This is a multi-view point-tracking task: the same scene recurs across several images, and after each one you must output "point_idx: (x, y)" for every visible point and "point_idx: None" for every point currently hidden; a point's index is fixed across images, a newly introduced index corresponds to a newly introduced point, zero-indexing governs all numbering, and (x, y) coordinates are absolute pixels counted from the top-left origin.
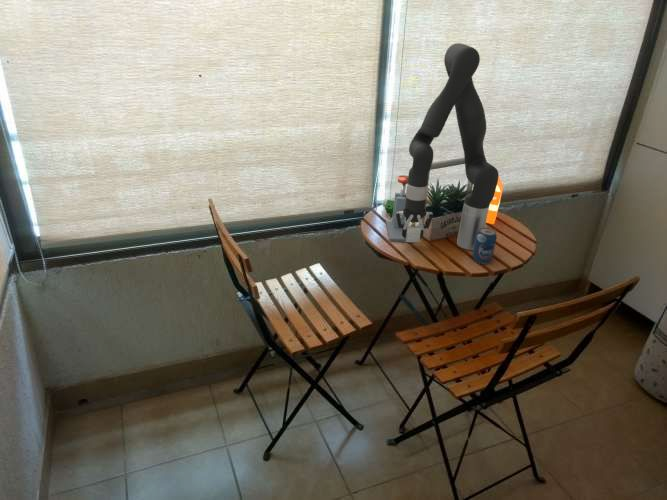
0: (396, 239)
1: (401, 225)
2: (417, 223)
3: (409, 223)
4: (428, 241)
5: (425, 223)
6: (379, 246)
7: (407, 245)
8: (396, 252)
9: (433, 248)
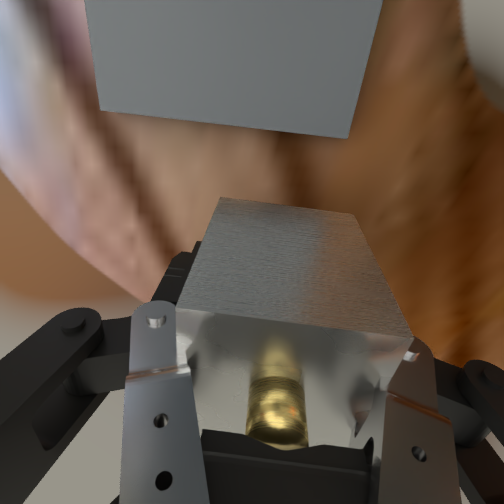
0: (169, 116)
1: (104, 386)
2: (357, 371)
3: (227, 361)
4: (479, 111)
5: (477, 413)
6: (42, 195)
7: (259, 184)
8: (164, 274)
9: (443, 233)
